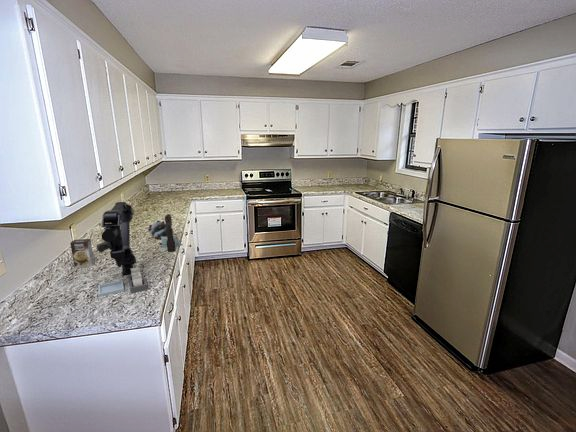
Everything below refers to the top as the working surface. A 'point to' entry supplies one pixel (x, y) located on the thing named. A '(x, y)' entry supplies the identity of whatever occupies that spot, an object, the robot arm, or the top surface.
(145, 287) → the grey boxy piece
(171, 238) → the dark tall piece
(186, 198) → the top surface
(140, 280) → the plug
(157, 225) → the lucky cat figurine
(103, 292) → the tray
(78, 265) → the coffee box
